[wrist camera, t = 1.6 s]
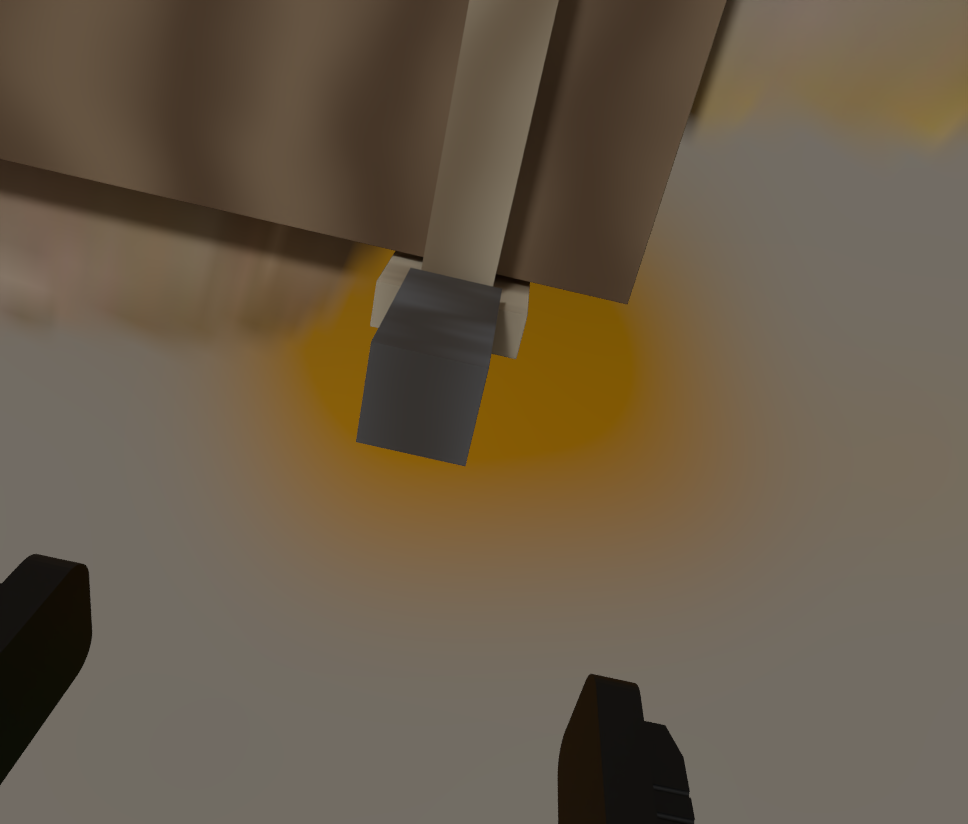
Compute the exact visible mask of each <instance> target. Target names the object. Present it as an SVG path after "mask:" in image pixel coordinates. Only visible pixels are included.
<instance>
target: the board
mask: <svg viewBox="0 0 968 824" xmlns="http://www.w3.org/2000/svg"><path fill="white" fill-rule="evenodd" d="M726 1H727V0H559V1H558V6H557V10H556V14H555V19H554V23H553V27H552V32H551V36H550V40H549V45H548V49H547V53H546V58H545V62H544V66H543V71H542V75H541V80H540V84H539V88H538V93H537V97H536V101H535V106H534V110H533V114H532V119H531V123H530V127H529V132H528V136H527V140H526V145H525V149H524V153H523V158H522V162H521V167H520V171H519V175H518V180H517V184H516V188H515V193H514V197H513V201H512V206H511V210H510V214H509V219H508V223H507V227H506V232H505V236H504V241H503V245H502V249H501V254H500V258H499V262H498V267H497V271H496V274H499V275H503V276H507V277H511V278H516V279H520V280H524V281H529V282H533V283H538V284H542V285H546V286H550V287H555V288H559V289H563V290H568V291H572V292H576V293H581V294H585V295H589V296H593V297H598V298H602V299H606V300H611V301H615V302H619V303H624V304H628V301H629V298H630V295H631V292H632V288H633V286H634V283H635V280H636V276H637V273H638V270H639V267H640V264H641V261H642V258H643V255H644V252H645V249H646V246H647V243H648V239H649V237H650V234H651V231H652V227H653V224H654V221H655V218H656V215H657V212H658V209H659V206H660V203H661V200H662V197H663V194H664V191H665V188H666V184H667V182H668V179H669V175H670V172H671V169H672V166H673V163H674V160H675V157H676V154H677V151H678V148H679V145H680V142H681V139H682V136H683V133H684V130H685V126H686V123H687V120H688V117H689V114H690V111H691V108H692V105H693V102H694V99H695V96H696V93H697V90H698V87H699V84H700V81H701V77H702V74H703V71H704V68H705V65H706V62H707V59H708V56H709V53H710V50H711V47H712V44H713V41H714V38H715V35H716V32H717V28H718V25H719V22H720V19H721V16H722V13H723V10H724V7H725V4H726ZM468 5H469V0H0V159H2V160H7V161H11V162H15V163H20V164H24V165H28V166H33V167H37V168H41V169H46V170H50V171H54V172H59V173H63V174H67V175H72V176H76V177H80V178H84V179H89V180H93V181H97V182H102V183H106V184H110V185H115V186H119V187H123V188H128V189H132V190H136V191H141V192H145V193H149V194H153V195H158V196H162V197H166V198H171V199H175V200H179V201H184V202H188V203H192V204H197V205H201V206H205V207H210V208H214V209H218V210H222V211H227V212H231V213H235V214H240V215H244V216H248V217H253V218H257V219H261V220H266V221H270V222H274V223H279V224H283V225H287V226H292V227H296V228H300V229H304V230H309V231H313V232H317V233H322V234H326V235H330V236H335V237H339V238H343V239H348V240H352V241H356V242H361V243H365V244H369V245H373V246H378V247H382V248H386V249H391V250H395V251H399V252H404V253H408V254H412V255H417V256H421V257H424V252H425V246H426V240H427V235H428V229H429V224H430V218H431V212H432V207H433V201H434V196H435V190H436V184H437V179H438V173H439V167H440V162H441V156H442V151H443V145H444V139H445V134H446V128H447V123H448V117H449V111H450V106H451V100H452V95H453V89H454V83H455V78H456V72H457V66H458V61H459V55H460V50H461V44H462V38H463V33H464V27H465V22H466V16H467V10H468Z"/></svg>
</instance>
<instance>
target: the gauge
mask: <svg viewBox="0 0 968 824" xmlns="http://www.w3.org/2000/svg"><path fill="white" fill-rule="evenodd" d="M558 1H559V0H469V5H468V10H467V16H466V22H465V27H464V33H463V38H462V44H461V50H460V55H459V61H458V66H457V72H456V78H455V83H454V89H453V95H452V100H451V106H450V111H449V117H448V123H447V128H446V134H445V139H444V145H443V151H442V156H441V162H440V167H439V173H438V179H437V184H436V190H435V196H434V201H433V207H432V212H431V218H430V224H429V229H428V235H427V240H426V246H425V252H424V257H421V256H417V255H412V254H408V253H404V252H399V251H395V253H394V254H393V256H392V258H391V259H390V261H389V262H388V264H387V266H386V267H385V269H384V270H383V272H382V274H381V275H380V277H379V278H378V280H377V283H376V290H375V297H374V303H373V310H372V317H371V323H370V326H373V327H377V328H378V330H377V332H376V334H375V336H374V338H373V339H372V342H371V347H370V353H369V360H368V367H367V374H366V380H365V386H364V394H363V400H362V407H361V413H360V419H359V426H358V433H357V439H356V442H359V443H363V444H368V445H372V446H377V447H381V448H386V449H390V450H395V451H399V452H404V453H408V454H413V455H417V456H422V457H426V458H431V459H435V460H440V461H444V462H448V463H453V464H458V465H462V466H465V465H466V461H467V457H468V453H469V448H470V444H471V440H472V436H473V432H474V428H475V423H476V419H477V415H478V410H479V407H480V403H481V398H482V394H483V390H484V386H485V382H486V378H487V373H488V369H489V363H490V358H491V354H496V355H500V356H504V357H509V358H514V359H516V357H517V354H518V350H519V346H520V342H521V338H522V335H523V331H524V327H525V322H526V319H527V314H528V300H529V287H530V282H529V281H524V280H520V279H516V278H511V277H507V276H503V275H499V274H496V271H497V267H498V262H499V258H500V254H501V249H502V245H503V241H504V236H505V232H506V227H507V223H508V219H509V214H510V210H511V206H512V201H513V197H514V193H515V188H516V184H517V180H518V175H519V171H520V167H521V162H522V158H523V153H524V149H525V145H526V140H527V136H528V132H529V127H530V123H531V119H532V114H533V110H534V106H535V101H536V97H537V93H538V88H539V84H540V80H541V75H542V71H543V66H544V62H545V58H546V53H547V49H548V45H549V40H550V36H551V32H552V27H553V23H554V19H555V14H556V10H557V6H558Z"/></svg>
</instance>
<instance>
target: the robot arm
mask: <svg viewBox="0 0 968 824" xmlns="http://www.w3.org/2000/svg"><path fill="white" fill-rule="evenodd" d="M91 639H92V622H91V604H90V585H89V571H88V568H87V567H86V565H84V564H81V563H76V562H71V561H67V560H62V559H57V558H53V557H48V556H43V555H39V554H33V555H31V556H29V557H27V558H26V559H25V560H24V561H23V562H22V563H21V564H20V565H19V566H18V567H17V568H16V569H15V570H14V571H13V572H12V573H11V574H10V575H9V576H8V578H6V580H5V581H4V582H3V583H0V785H1V783H2V782H3V780H4V779H5V778H6V776H7V775H8V773H9V772H10V770H11V769H12V768H13V766H14V765H15V763H16V762H17V760H18V759H19V758H20V756H21V755H22V753H23V752H24V750H25V749H26V748H27V746H28V744H29V743H30V742H31V740H32V739H33V738H34V736H35V735H36V733H37V732H38V730H39V729H40V728H41V726H42V725H43V723H44V722H45V721H46V719H47V718H48V716H49V715H50V713H51V712H52V710H53V709H54V708H55V706H56V705H57V703H58V702H59V701H60V699H61V698H62V696H63V694H64V693H65V692H66V691H67V689H68V688H69V686H70V685H71V683H72V682H73V681H74V679H75V677H76V676H77V675H78V673H79V671H80V670H81V668H82V666H83V664H84V662H85V660H86V657H87V655H88V652H89V648H90V644H91ZM689 792H690V791H689V786H688V780H687V774H686V769H685V764H684V758H683V756H682V754H681V752H680V751H679V749H678V747H677V745H676V743H675V742H674V740H673V738H672V737H671V735H670V733H669V731H668V729H667V728H666V726H665V725H661V724H656V723H652V722H646V721H644V717H643V710H642V703H641V696H640V690H639V687H638V685H637V684H636V683H632V682H627V681H623V680H618V679H613V678H608V677H604V676H599V675H594V674H590V675H589V676H588V678H587V679H586V682H585V684H584V686H583V689H582V691H581V694H580V696H579V699H578V701H577V704H576V706H575V708H574V711H573V713H572V716H571V718H570V721H569V723H568V726H567V728H566V731H565V733H564V736H563V740H562V744H561V748H560V754H559V762H558V824H694V820H695V818H694V812H693V807H692V802H691V798H689Z"/></svg>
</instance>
